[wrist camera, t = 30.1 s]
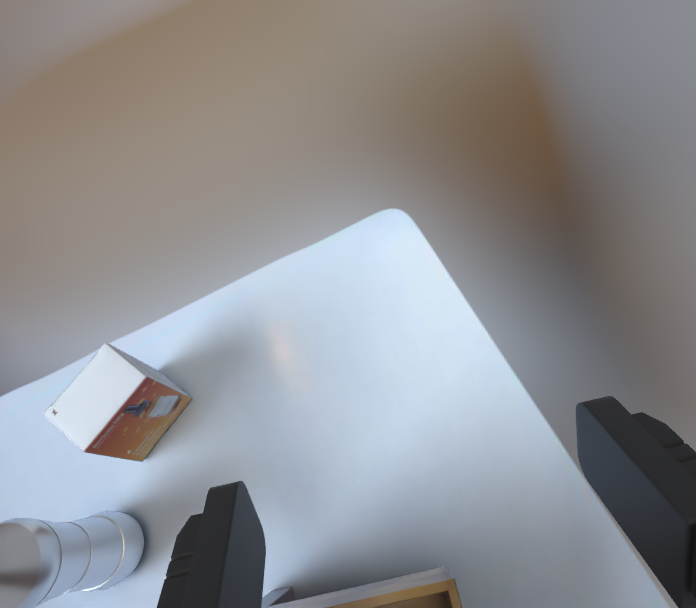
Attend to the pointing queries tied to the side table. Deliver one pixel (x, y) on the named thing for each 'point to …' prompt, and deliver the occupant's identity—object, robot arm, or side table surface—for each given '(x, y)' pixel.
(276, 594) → the wooden drawer
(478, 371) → the side table surface
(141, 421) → the small box
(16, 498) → the side table surface
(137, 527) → the plastic bottle
